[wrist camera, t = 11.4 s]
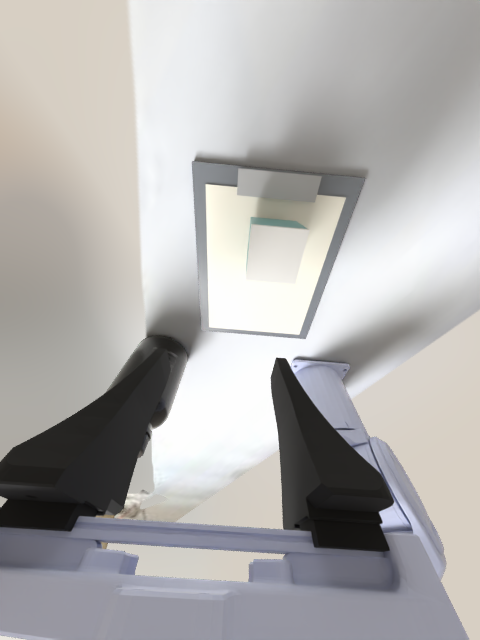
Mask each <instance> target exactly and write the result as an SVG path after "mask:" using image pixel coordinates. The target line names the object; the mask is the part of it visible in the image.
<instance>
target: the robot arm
mask: <svg viewBox="0 0 480 640" xmlns="http://www.w3.org/2000/svg"><path fill="white" fill-rule="evenodd" d="M349 369H350V365H349V364H346V363H333V362H321V361H309V360H294V361H293V362H292V364H291V367H290V365H289V363H288V362H287V360H286V359H285V358H276V360H275V364H274V368H273V371H272V375H271V390H272V398H273V404H274V410H275V416H276V422H277V428H278V437H279V450H280V464H281V483H282V508H283V528H284V530H282V529H266V528H251V527H236V526H221V525H206V524H205V525H204V524H190V523H176V522H161V521H146V520H131V519H116V518H101V517H96V516H104V515H116V514H118V513H119V512H120V511H121V510H122V509H123V508H124V504H125V500H126V496H127V492H128V489H129V485H130V482H131V478H132V475H133V472H134V468H135V465H136V462H137V458H138V455H139V452H140V449H141V446H142V443H143V440H144V437H145V434H146V431H147V428H148V425H149V423H150V420H151V418H152V416H153V413H154V411H155V409H156V407H157V405H158V402H159V400H160V398H161V396H162V393H163V391H164V389H165V387H166V384H167V381H168V378H169V375H170V372H171V367H170V362H169V357H168V353H167V349H161V348H157V349H156V350H155V351H154V352H153V353H152V354H150V355H149V356H148V357H147V358H146V359H145V360H144V361H143V362H142V363H141V364H140V365H139V366H138V367H136V368H135V369H134V370H133V371H132V372H131V373H130V374H129V375H127V376H126V377H125V378H124V379H123V380H121V381H120V382H119V383H118V384H117V385H115V386H114V387H113V388H112V389H110V390H109V391H108V392H106V393H105V394H104V395H102V396H101V397H99V398H98V399H97V400H95V401H94V402H92V403H91V404H89V405H88V406H86V407H85V408H83V409H82V410H80V411H78V412H77V413H75V414H74V415H72V416H71V417H69V418H67V419H66V420H64V421H62V422H60V423H59V424H57V425H55V426H53V427H52V428H50V429H48V430H46V431H44V432H43V433H41V434H39V435H37V436H35V437H33V438H31V439H30V440H27V441H25V442H23V443H21V444H20V445H18V446H16V447H14V448H12V450H11V451H10V452H9V453H8V454H7V455H6V456H5V457H4V458H3V459H2V461H1V462H0V496H2V497H4V498H7V499H8V500H7V501H6V503H5V504H4V505H3V506H2V507H0V635H1V636H7V637H14V638H21V639H27V640H469V638H468V636H467V634H466V632H465V630H464V628H463V626H462V623H461V621H460V619H459V617H458V615H457V613H456V611H455V609H454V607H453V605H452V603H451V601H450V599H449V597H448V595H447V593H446V591H445V589H444V587H443V585H442V583H441V579H442V577H443V574H444V572H445V568H446V560H445V556H444V547H443V544H442V542H441V539H440V537H439V535H438V533H437V531H436V529H435V527H434V525H433V523H432V522H431V520H430V518H429V516H428V514H427V512H426V510H425V508H424V506H423V503H422V501H421V500H420V497H419V496H418V494H417V492H416V490H415V488H414V486H413V485H412V483H411V481H410V479H409V477H408V476H407V474H406V472H405V471H404V469H403V467H402V465H401V464H400V462H399V461H398V459H397V458H396V456H395V455H394V453H393V451H392V450H391V449H390V447H389V446H388V445H387V443H385V442H384V441H382V440H380V439H379V438H377V437H372V438H370V436H369V435H368V434H367V431H366V429H365V427H364V425H363V423H362V421H361V419H360V417H359V415H358V413H357V411H356V409H355V407H354V405H353V403H352V401H351V399H350V397H349V394H348V392H347V390H346V388H345V386H344V384H343V382H342V380H343V378H344V377H345V375H346V373H347V372H348V370H349ZM100 542H104V543H121V544H136V545H151V546H166V547H183V548H197V549H198V548H199V549H213V550H229V551H230V550H231V551H244V552H260V553H275V554H276V553H277V554H286V555H285V556H284V557H283V560H277V559H272V560H271V559H254V561H253V562H251V563H250V564H249V582H237V581H221V580H205V579H189V578H188V579H187V578H172V577H156V576H140V575H135V569H136V566H137V562H138V559H139V557H138V555H133V554H129V553H126V552H125V551H118V550H108V549H102V543H100Z"/></svg>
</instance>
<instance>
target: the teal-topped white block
mask: <svg viewBox="0 0 480 640" xmlns="http://www.w3.org/2000/svg"><path fill="white" fill-rule="evenodd" d="M309 231H310V230H309V229H307V228H306V227H304V226H303V225H301V224H300V223H298V222H297V221H291V220H280V219H269V218H258V217H251V218H250V229H249V239H248V249H247V259H246V280H252V281H263V282H275V283H286V284H295V283H296V279H297V275H298V272H299V268H300V264H301V261H302V257H303V253H304V249H305V246H306V242H307V238H308V234H309Z"/></svg>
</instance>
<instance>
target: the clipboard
mask: <svg viewBox="0 0 480 640" xmlns="http://www.w3.org/2000/svg"><path fill="white" fill-rule="evenodd" d="M192 173H193V191H194V209H195V227H196V244H197V262H198V280H199V298H200V316H201V330H203V331H215V332H227V333H239V334H252V335H264V336H276V337H288V338H300V339H306V336H307V334H308V331H309V328H310V326H311V323H312V320H313V318H314V315H315V312H316V309H317V307H318V304H319V301H320V299H321V296H322V293H323V291H324V288H325V285H326V283H327V280H328V277H329V275H330V272H331V269H332V267H333V264H334V261H335V259H336V256H337V253H338V250H339V248H340V245H341V242H342V240H343V237H344V234H345V232H346V229H347V226H348V224H349V221H350V218H351V216H352V213H353V210H354V208H355V205H356V202H357V200H358V197H359V194H360V191H361V189H362V186H363V183H364V181H365V178H361V177H351V176H340V175H330V174H320V173H309V172H299V171H289V170H278V169H268V168H257V167H247V166H237V165H226V164H216V163H206V162H195V161H192ZM251 217H258V218H269V219H280V220H291V221H297V222H298V223H300V224H301V225H303V226H304V227H306V228H307V229H309V230H310V231H309V234H308V238H307V242H306V246H305V249H304V253H303V257H302V261H301V264H300V268H299V272H298V275H297V279H296V283H295V284H286V283H275V282H263V281H252V280H246V259H247V249H248V239H249V229H250V218H251Z"/></svg>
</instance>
